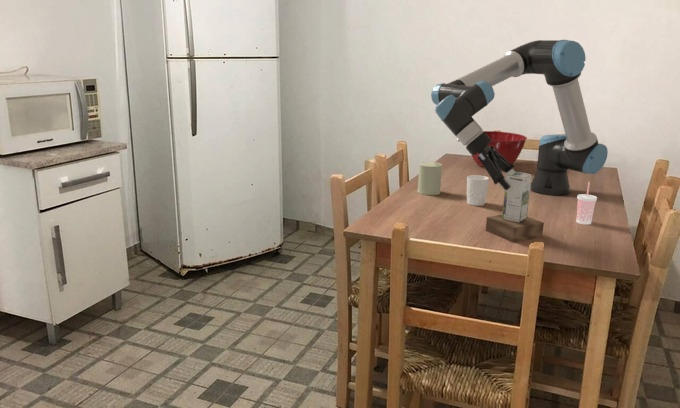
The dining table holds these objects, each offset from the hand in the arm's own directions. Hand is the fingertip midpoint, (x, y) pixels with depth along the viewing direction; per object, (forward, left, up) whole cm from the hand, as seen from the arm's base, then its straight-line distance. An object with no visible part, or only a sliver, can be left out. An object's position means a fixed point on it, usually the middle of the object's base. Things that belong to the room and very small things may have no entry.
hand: (519, 191), depth 170 cm
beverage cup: (-30, -3, -14) cm, 33 cm away
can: (+1, -54, -14) cm, 56 cm away
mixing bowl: (-54, -91, -14) cm, 106 cm away
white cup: (-8, -34, -14) cm, 38 cm away
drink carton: (0, -1, -9) cm, 9 cm away
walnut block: (0, 0, -14) cm, 14 cm away
